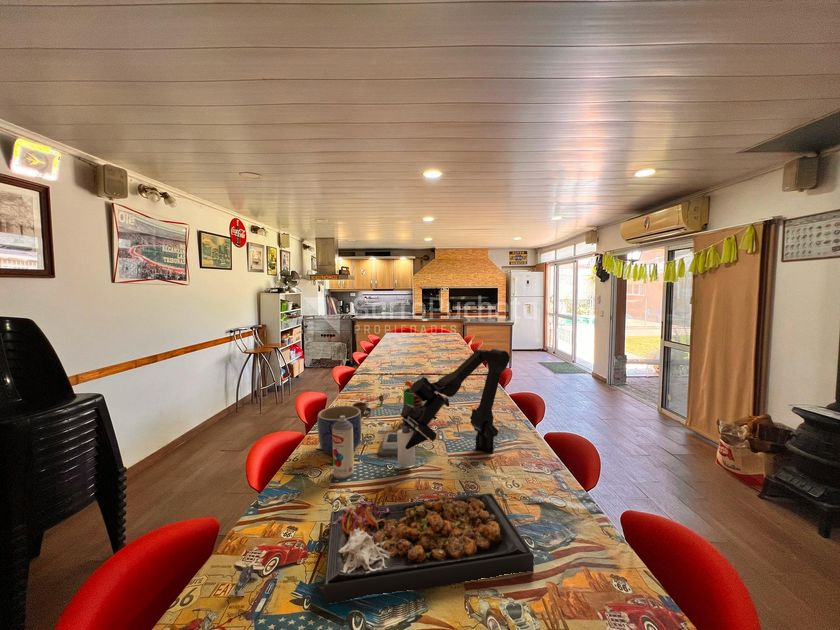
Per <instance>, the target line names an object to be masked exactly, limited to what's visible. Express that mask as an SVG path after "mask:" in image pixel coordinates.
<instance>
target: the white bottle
mask: <svg viewBox="0 0 840 630" xmlns="http://www.w3.org/2000/svg"><path fill="white" fill-rule="evenodd" d="M396 433H397V446H398V456H397V464H398V466H400V467H404V468H409V467H412V466H414V465H415V464H416V445H415V446H413V447H411V448H410V449H406V448H405V447H406V445H407V443H408V442H409V440H410V439H411V437H412V435H413V434H414V430H412V429H410V427H409V426H403V425H402V427H401V428H400V429H398V430H397V432H396Z"/></svg>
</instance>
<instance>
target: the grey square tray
mask: <svg viewBox="0 0 840 630" xmlns="http://www.w3.org/2000/svg"><path fill="white" fill-rule="evenodd" d="M378 456H386V457H387V456H392V457H393V456H397V457H398V446H397V432H385V435H384V437H382V441H381V445H380V447H379V451H378Z"/></svg>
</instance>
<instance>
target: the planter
mask: <svg viewBox="0 0 840 630" xmlns="http://www.w3.org/2000/svg"><path fill="white" fill-rule="evenodd" d="M340 416H345V419H347V420H348V421H349V422H350V423H352V426H353V451H355V450H356V449H357V448H358V446H359V445H360V443H361V437H362V418H361V411H360V409H358V408H356V407H353V405H338V406H336V405H335V406H331V407H326V408H324V409H322V410H320V411H319V412H318V414H317V435H318V442H319V443H318V444H319V446H320V448H321V450H323V452H325V453H326V454H328V455H331V456H333V439H332V428H333V425H334V424H335V423H336V422H337V421H338V420H339V419H340Z"/></svg>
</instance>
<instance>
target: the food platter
mask: <svg viewBox="0 0 840 630" xmlns="http://www.w3.org/2000/svg"><path fill="white" fill-rule="evenodd" d="M355 493H356V494H357V495H358V499H359V500H358V501H357V502H356V505H355V504H354V503H351V505H352V506H354V507H355V508H354V509H353V507H348V508H349V509H346V508H345V509H341V510H337V511H331V514H330V522H329V529H328V530H329V532H328V542H327V551H326V553H327V554H326V562H325V572H324V582H323V605H324V604H329V603H335V602H341V601H346V600H350V599H354V598H358V597H363V596H366V595H372V594H383V593H392V592H396V591H407V590H415V591H419V590H420V589H421V590H426V589H431V588H433V589H434V588H440V587H444V586H450V585H451V586H452V585H456V584H457V583H458V584H462V583H461V582H464V583H466V582H465V581H470V582H472V581H471V580H476V581H479V580H478V579H481V578H488V579H491V578H490V577H495V578H497V577H496V576H499V575H504V574H511V573H512V574H513V573H519V572H525V573H528V572H527V571H531V572H534V571H535V570H534V569H535V568H534V567H535V566H534V565H535V564H534V563H535V562H534V561H535V558H534V557H535V556H534V553H533V552H532V551H531V549H530V548H529V546H528V545H527V543H526V541H525V540H524V538H523V537H522V535H520V532H519V531H518V530H517V528H516V527H515V525H514V524H513V523H512V521H511V520H510V518H509V516H508V515H507V514H506V512H505V511H504V509H503V507H501V505H500V504H499V502H498V500H497V499H496V498H495V496H494V495H493V493H492V492H488V493H487V492H486V493H479V494H471V495H465V496H455V497H448V496H447V495H444V496H443V495H442V494H441V495H437V499H429V500H423V501H422V500H420V501H414V502H413V501H412V502H405V503H404V502H403V503H397V504H396V503H394V504H386V505H378V504H376V503H375V501H374V500H373V501H371V502H367V500H362V499H361V497H360V495H359V493H358V491H357V490H356V489H355ZM519 574H520V573H519ZM513 575H514V574H513ZM341 603H342V602H341ZM335 604H336V603H335ZM329 605H330V604H329Z"/></svg>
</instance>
